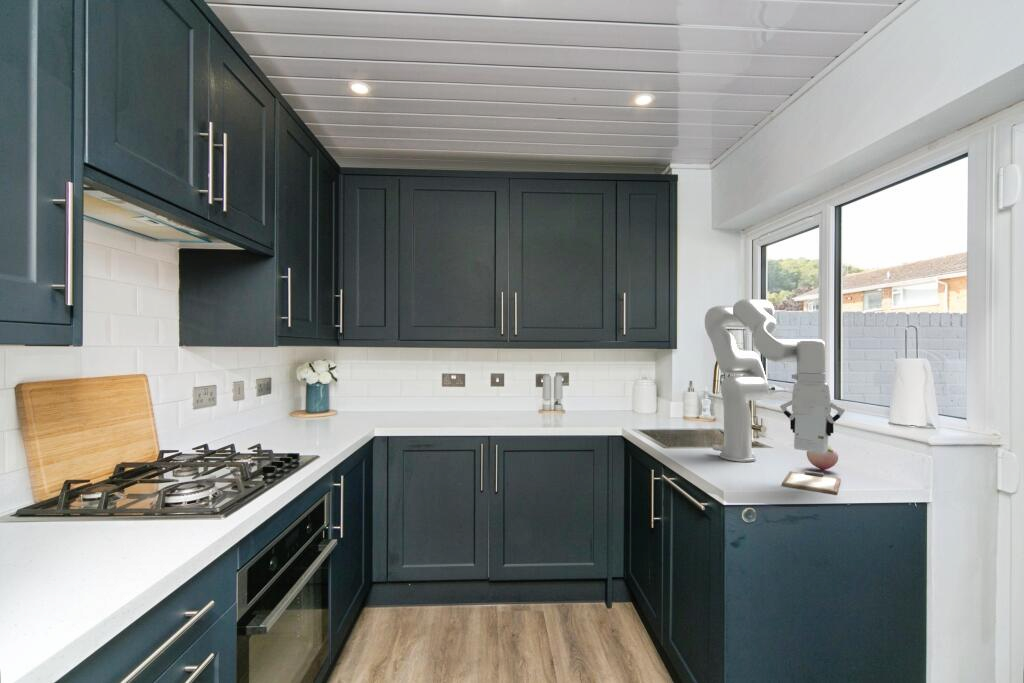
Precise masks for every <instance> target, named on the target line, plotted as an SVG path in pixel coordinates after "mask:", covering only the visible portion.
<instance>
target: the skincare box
mask: <svg viewBox="0 0 1024 683" xmlns="http://www.w3.org/2000/svg"><path fill="white" fill-rule="evenodd" d="M812 406H813V407H812ZM810 407H812V408H813V411H812V414H810V415H800V414H795V433H794V435H793V436H794V441H793V442H794V443H793V447H794V450H800V451H806V452H807V451H812V452H819V453H824V452H826V451H828V446H829V436H828V435H827V423H828V420H827V419H826V416H825V405H811V406H810ZM810 409H811V408H810ZM826 409H827V408H826Z"/></svg>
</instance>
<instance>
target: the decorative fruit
mask: <svg viewBox="0 0 1024 683" xmlns="http://www.w3.org/2000/svg"><path fill="white" fill-rule="evenodd" d="M806 457H807V459H808V461H809V463H810V464H811V465H812V466H814V467H815V468H817V469H819V470H821V471H826V470H828V469H831V468H833V467H834V466H836V464H837V463H838V461H839V454H838V453H837V451H836V449H834V448H833V447H831V446H830V445H828V451H826V452H824V453H819V452H812V451H806Z"/></svg>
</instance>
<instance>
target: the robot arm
mask: <svg viewBox="0 0 1024 683" xmlns="http://www.w3.org/2000/svg"><path fill="white" fill-rule="evenodd" d="M774 314H775V308H774V306H773V304H772V303H771V302H770V301H769V300H767V299H756V298H753V299H752V298H743V299H740V300H738V301H736V302H735V303H734V304H733V305H715V306H712V307H711V308H709V309H708V310H707V311H706V313H705V315H704V316H705V317H704V328H705V332H706V334H707V336H708V338H709V341H710V343H711V345H712V348H713V352H714V356H715V359H716V363H717V366H718V368H719V371H720V372H721V373H723V374H726V375H727V374H728V375H731V376H728V377H725V378H724V379H723V380H722V382H721V384H720V393H721V397H722V404H723V405H722V406H723V444H721V445H719V444H712V450H713V451H720V453H719V457H720V458H721V459H724V460H727V461H733V462H741V463H749V462H750V463H751V462H755V461H757V456H756V455H754V454H752V411H751V408H750V406H749V405H748V403H747V401H761V400H764V399H765V398H767V397H768V395H769V392H770V390H769V389H770V388H769V383H768V379H767V375H766V374H765V373H766V372H765V370H764V367H763V364H762V361H761V358H760V356H759V355H758V354H757V353H756V352H755V351H754V350H753V351H752V350H749V349H739V348H738V346H737V342H736V339H735V337H734V336H733V335H732V333H731V332H730V331H729V330H728V329H727V328H731V327H732V328H746V329H747V330H748V331H749V332H751V334H752V343H753V345H754V347H755V349H756V351H757V352H759V353H760V354H761V355H762V356H763V357H764V358H765V359H767V360H768V361H770V362H773V363H796V374H791V379H794V380H796V382H794V383H793V387H792V392H791V394H792V396H791V397H792V398H791V400H790V401H787V402H786V403H785V402H784V403H783V404H781V405H780V406H779V407H780V409H781V411H782V412H783V414H784V415H785V416H786V417H787V418H788V419H789V420H790V430H791V431H792V433H793V434H795V414H800V415H810V414H812V411H813V408H812V407H813V406H812V407H810V406H811V405H825V416H826V419H827V420H828V423H827V435H828V437H831V436H832V434H834V424H835V422H836V421H837V420H839V419H840V418H841V417H842V415H843V414H844V413H845V409H844V408H843V407H841V406H839V405H837V404H836V403H833V402H831V401H832V400H831V393H830V387H829V383H826V346H825V341H823V339H791V338H790V339H789V338H788V339H787V338H785V339H783V338H782V339H781V338H779V339H777V338H775V337H774V336H772V333H773V332H774V330H775V329H776V327H777V326H776V325H777V321H776V318H774ZM732 375H733V376H732ZM790 406H791V411H792V413H791V412H790V411H789V410H788V409H787V408H788V407H790ZM810 408H811V409H810ZM826 408H827V409H826ZM832 409H834V411H837V413H836V414H835V415H834V416H832V415H831V412H832Z"/></svg>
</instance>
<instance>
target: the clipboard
mask: <svg viewBox="0 0 1024 683" xmlns="http://www.w3.org/2000/svg"><path fill="white" fill-rule="evenodd" d="M824 475H825V474H824V472H818V471H817V472H816V471H809V470H805V471H804V473H803V472H797V471H791V470H790V471H789V472H788V473H787V475H786V476H785V477H784V479H783V480H782V482H781V486H782V485H783V486H784V487H788V486H789V488H794V487H795V489H801V490H802V489H803V490H807V491H813V492H820V493H826V494H831V495H838V492H839V489H838V488H840V485H841V478H837V477H831V476H824ZM783 486H782V487H783Z"/></svg>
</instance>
